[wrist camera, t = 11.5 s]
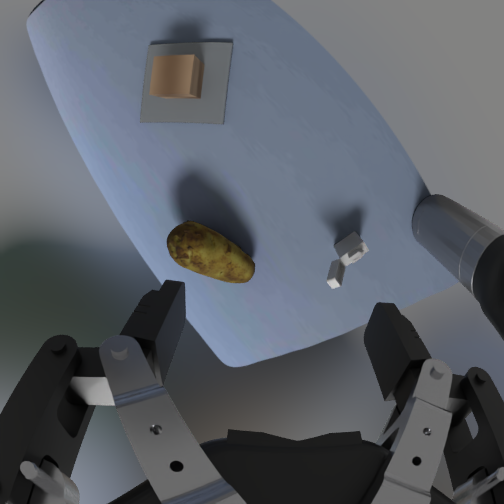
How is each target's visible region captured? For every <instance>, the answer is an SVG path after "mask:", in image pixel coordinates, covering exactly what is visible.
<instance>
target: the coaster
mask: <svg viewBox="0 0 504 504" xmlns="http://www.w3.org/2000/svg"><path fill="white" fill-rule="evenodd" d="M232 49H233V43H223V42H192V43H171V44H158V45H149V48H148V54H147V61H146V68H145V76H144V85H143V94H142V105H141V117H140V123H144V122H181V123H208V124H224V117H225V108H226V98H227V90H228V81H229V73H230V65H231V57H232ZM169 55H195V56H196V57H197V58H198V59H199V60H200V61H201V62H202V63H203V64H204V65H205V66H204V74H203V82H202V91H201V99H191V98H167V99H165V98H161V97H157V96H153V95H149V92H150V83H151V75H152V67H153V60H154V56H169Z"/></svg>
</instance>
